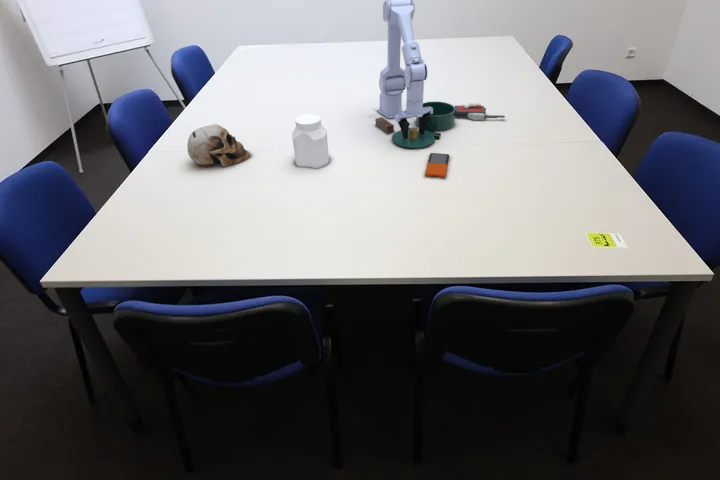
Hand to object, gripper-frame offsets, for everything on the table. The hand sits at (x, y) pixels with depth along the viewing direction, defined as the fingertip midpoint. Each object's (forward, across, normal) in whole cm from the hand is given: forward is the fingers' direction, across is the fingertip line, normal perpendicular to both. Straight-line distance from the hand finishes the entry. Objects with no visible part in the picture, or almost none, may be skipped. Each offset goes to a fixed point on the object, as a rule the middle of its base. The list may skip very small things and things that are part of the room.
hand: (413, 135), depth 170 cm
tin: (+2, +15, +8) cm, 17 cm away
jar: (+2, -38, +4) cm, 38 cm away
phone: (+2, -4, -21) cm, 21 cm away
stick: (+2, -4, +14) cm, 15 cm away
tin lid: (+1, 0, 0) cm, 1 cm away
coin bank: (+2, -65, +21) cm, 68 cm away
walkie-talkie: (+2, +33, +5) cm, 33 cm away
